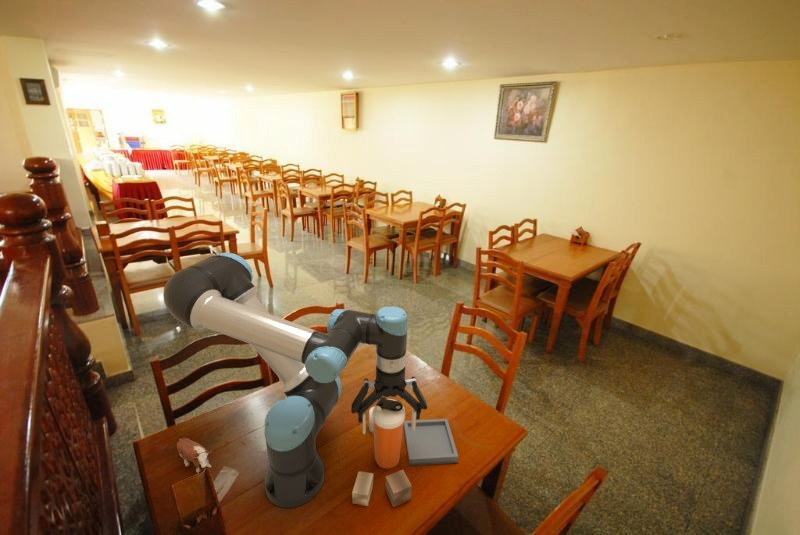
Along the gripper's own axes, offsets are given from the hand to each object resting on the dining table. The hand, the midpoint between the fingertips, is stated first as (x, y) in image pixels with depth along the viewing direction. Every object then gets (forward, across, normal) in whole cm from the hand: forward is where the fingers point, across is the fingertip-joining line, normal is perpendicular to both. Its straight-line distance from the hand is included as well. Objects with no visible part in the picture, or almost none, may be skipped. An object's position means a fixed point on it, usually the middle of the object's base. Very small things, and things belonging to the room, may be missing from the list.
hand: (388, 428), depth 97 cm
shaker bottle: (+11, 0, 0) cm, 11 cm away
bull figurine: (+11, -52, +1) cm, 53 cm away
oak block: (+11, -7, -10) cm, 17 cm away
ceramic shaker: (+11, -3, +11) cm, 16 cm away
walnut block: (+11, +2, -11) cm, 16 cm away
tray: (+11, +13, +4) cm, 18 cm away
